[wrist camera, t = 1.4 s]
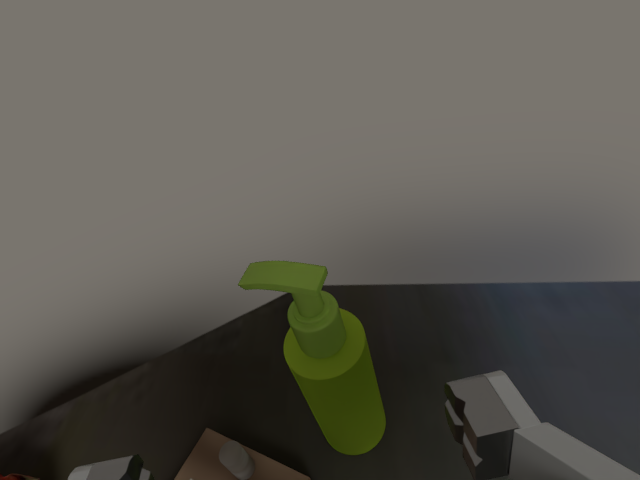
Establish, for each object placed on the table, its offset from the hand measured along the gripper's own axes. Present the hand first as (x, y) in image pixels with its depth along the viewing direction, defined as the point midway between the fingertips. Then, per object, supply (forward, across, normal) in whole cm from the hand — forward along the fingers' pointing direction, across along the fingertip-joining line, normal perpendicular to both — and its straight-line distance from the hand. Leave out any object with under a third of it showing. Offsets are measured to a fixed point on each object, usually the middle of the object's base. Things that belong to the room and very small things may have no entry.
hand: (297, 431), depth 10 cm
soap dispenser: (+17, -2, +23) cm, 29 cm away
